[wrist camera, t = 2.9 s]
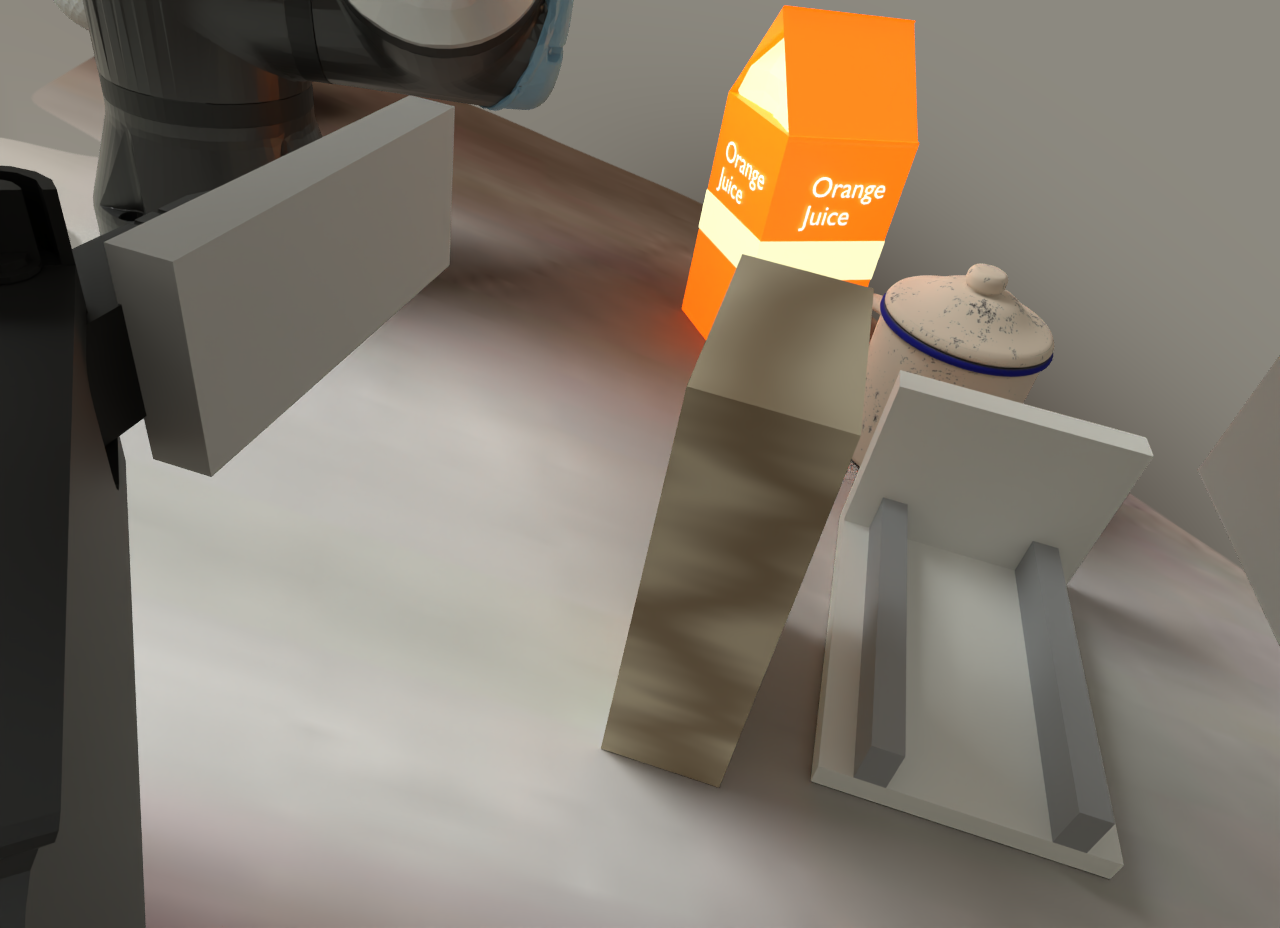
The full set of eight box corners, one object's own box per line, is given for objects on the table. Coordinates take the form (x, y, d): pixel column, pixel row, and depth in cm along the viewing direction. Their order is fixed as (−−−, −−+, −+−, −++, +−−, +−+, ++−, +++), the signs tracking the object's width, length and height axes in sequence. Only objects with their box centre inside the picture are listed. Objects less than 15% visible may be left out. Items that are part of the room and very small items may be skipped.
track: (1109, 879, 31) (1262, 732, 25) (810, 780, 32) (894, 620, 26) (1052, 579, 43) (1146, 437, 38) (839, 516, 44) (900, 370, 39)
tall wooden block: (600, 748, 32) (686, 386, 22) (658, 583, 39) (742, 253, 29) (719, 787, 31) (860, 435, 21) (755, 613, 38) (873, 288, 28)
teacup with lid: (1016, 476, 50) (1116, 298, 43) (921, 523, 45) (1017, 330, 38) (864, 371, 57) (929, 202, 50) (767, 402, 52) (824, 219, 45)
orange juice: (843, 360, 58) (959, 40, 45) (726, 368, 54) (818, 24, 42) (787, 303, 63) (878, 3, 51) (679, 307, 60) (748, -13, 48)
